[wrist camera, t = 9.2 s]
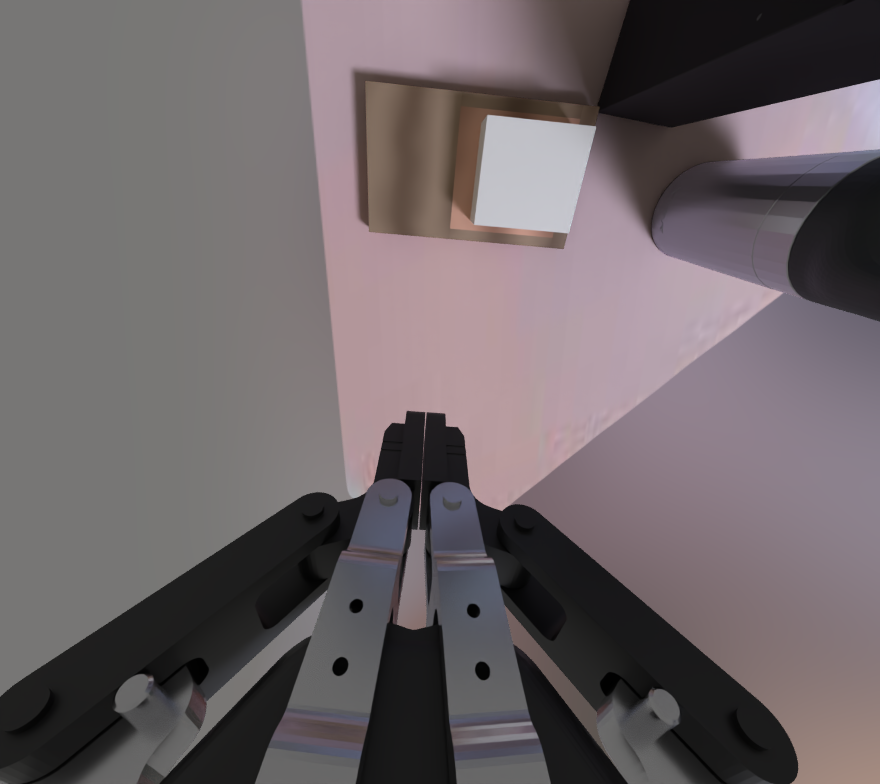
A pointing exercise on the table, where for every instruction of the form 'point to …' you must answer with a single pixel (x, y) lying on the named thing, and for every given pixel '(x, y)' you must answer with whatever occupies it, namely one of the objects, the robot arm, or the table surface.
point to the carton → (529, 173)
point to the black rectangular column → (736, 55)
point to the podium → (442, 159)
